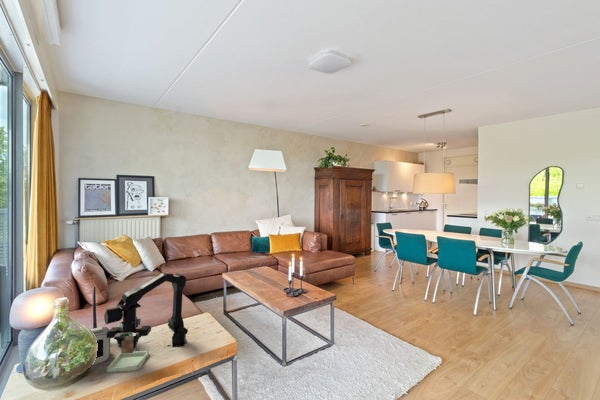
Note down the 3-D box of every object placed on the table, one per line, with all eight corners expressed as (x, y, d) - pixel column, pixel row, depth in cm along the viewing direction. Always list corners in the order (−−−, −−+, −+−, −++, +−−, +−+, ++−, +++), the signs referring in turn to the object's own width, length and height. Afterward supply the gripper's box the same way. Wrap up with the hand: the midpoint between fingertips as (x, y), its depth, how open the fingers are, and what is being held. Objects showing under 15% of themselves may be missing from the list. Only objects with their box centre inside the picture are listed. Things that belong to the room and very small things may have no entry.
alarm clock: (68, 371, 134) (68, 339, 134) (70, 360, 143) (70, 329, 143) (110, 360, 144) (110, 330, 144) (109, 350, 153) (109, 321, 153)
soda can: (125, 348, 156) (125, 326, 155) (113, 346, 157) (114, 324, 157) (135, 341, 163) (136, 320, 163) (124, 339, 164) (124, 319, 164)
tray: (148, 354, 150) (148, 350, 150) (138, 370, 136) (138, 366, 136) (120, 355, 148) (120, 352, 148) (106, 372, 134) (106, 368, 134)
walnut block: (136, 347, 145) (136, 335, 145) (132, 352, 140) (132, 340, 140) (126, 347, 144) (126, 336, 144) (121, 353, 139) (121, 341, 139)
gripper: (155, 310, 151) (154, 339, 152) (117, 311, 149) (116, 341, 149) (147, 319, 140) (146, 350, 141) (106, 321, 138) (105, 353, 138)
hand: (129, 348), depth 142 cm, fingers closed on walnut block, 5 cm apart
